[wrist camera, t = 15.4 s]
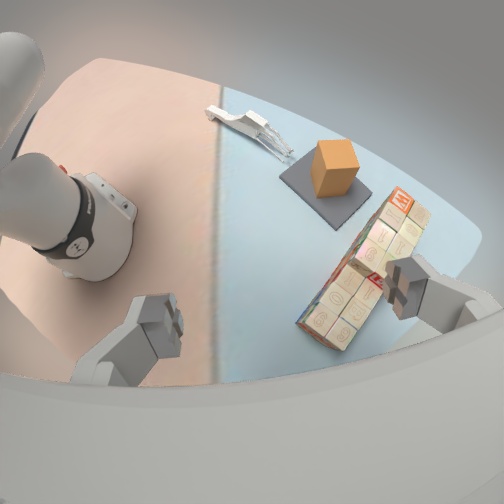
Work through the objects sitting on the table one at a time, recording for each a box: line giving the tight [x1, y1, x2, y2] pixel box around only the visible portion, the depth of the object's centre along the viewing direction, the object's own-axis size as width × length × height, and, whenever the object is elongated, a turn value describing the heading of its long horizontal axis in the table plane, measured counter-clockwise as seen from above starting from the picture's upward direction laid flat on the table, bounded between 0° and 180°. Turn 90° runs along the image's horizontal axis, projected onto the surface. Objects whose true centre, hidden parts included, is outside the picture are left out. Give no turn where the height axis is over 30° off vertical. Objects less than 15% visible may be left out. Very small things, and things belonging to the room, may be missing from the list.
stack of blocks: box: [296, 186, 431, 351], centre depth 36 cm, size 21×6×12 cm, turn 141°
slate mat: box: [279, 146, 372, 231], centre depth 46 cm, size 13×10×1 cm
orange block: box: [310, 139, 360, 198], centre depth 41 cm, size 5×5×9 cm
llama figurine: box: [205, 105, 294, 162], centre depth 48 cm, size 2×11×18 cm
